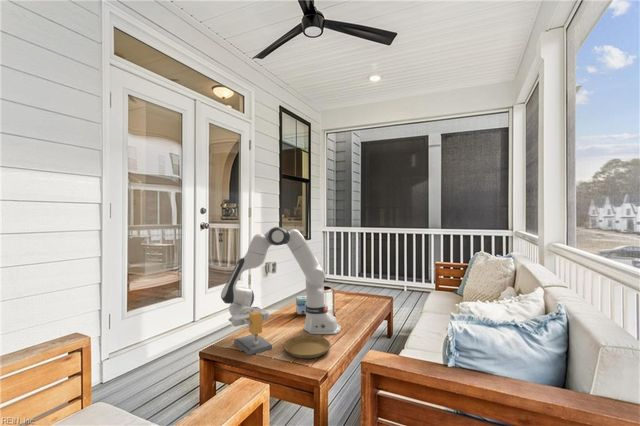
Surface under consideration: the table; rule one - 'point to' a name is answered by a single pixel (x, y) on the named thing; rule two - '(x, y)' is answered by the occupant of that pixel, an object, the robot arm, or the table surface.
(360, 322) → the table surface
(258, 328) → the tall orange brick
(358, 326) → the table surface
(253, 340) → the plate
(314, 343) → the plant saucer
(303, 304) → the light bulb box
